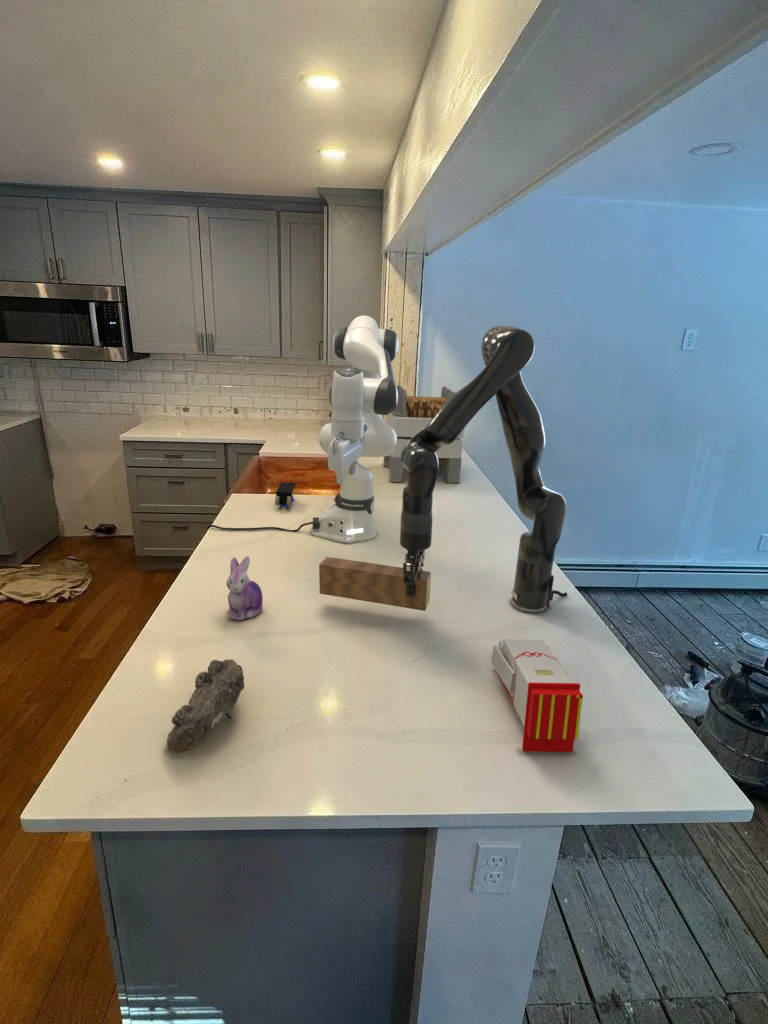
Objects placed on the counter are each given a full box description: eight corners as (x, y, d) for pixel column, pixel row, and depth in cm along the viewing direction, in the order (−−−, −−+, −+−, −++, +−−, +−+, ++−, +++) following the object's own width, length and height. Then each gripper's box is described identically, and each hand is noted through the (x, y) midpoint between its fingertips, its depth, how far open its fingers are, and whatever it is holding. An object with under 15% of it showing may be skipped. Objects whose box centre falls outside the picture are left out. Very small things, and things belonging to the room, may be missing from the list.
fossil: (192, 660, 117) (244, 628, 112) (224, 691, 120) (276, 661, 115) (142, 746, 98) (202, 712, 93) (182, 779, 101) (242, 748, 96)
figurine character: (292, 514, 217) (296, 498, 230) (291, 496, 214) (296, 480, 227) (274, 514, 217) (280, 497, 230) (273, 496, 213) (279, 480, 227)
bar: (319, 593, 145) (318, 564, 143) (326, 585, 150) (326, 556, 147) (425, 611, 138) (427, 580, 136) (429, 601, 143) (431, 571, 140)
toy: (540, 622, 128) (592, 691, 98) (535, 677, 130) (584, 759, 101) (487, 621, 127) (523, 690, 98) (483, 676, 130) (516, 758, 101)
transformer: (382, 463, 289) (386, 382, 275) (445, 464, 293) (451, 384, 279) (390, 482, 257) (394, 392, 243) (460, 483, 261) (468, 394, 247)
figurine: (231, 625, 139) (228, 569, 133) (222, 606, 147) (219, 553, 142) (269, 617, 143) (267, 563, 138) (258, 599, 151) (256, 547, 146)
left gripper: (345, 438, 143) (344, 490, 148) (369, 424, 162) (368, 470, 166) (322, 435, 145) (321, 487, 149) (348, 422, 163) (347, 468, 168)
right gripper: (425, 540, 127) (421, 607, 133) (437, 518, 140) (433, 580, 146) (392, 536, 129) (391, 602, 135) (408, 515, 142) (405, 576, 148)
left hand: (346, 478), depth 158 cm, fingers open, 8 cm apart
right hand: (413, 590), depth 140 cm, fingers closed on bar, 5 cm apart
